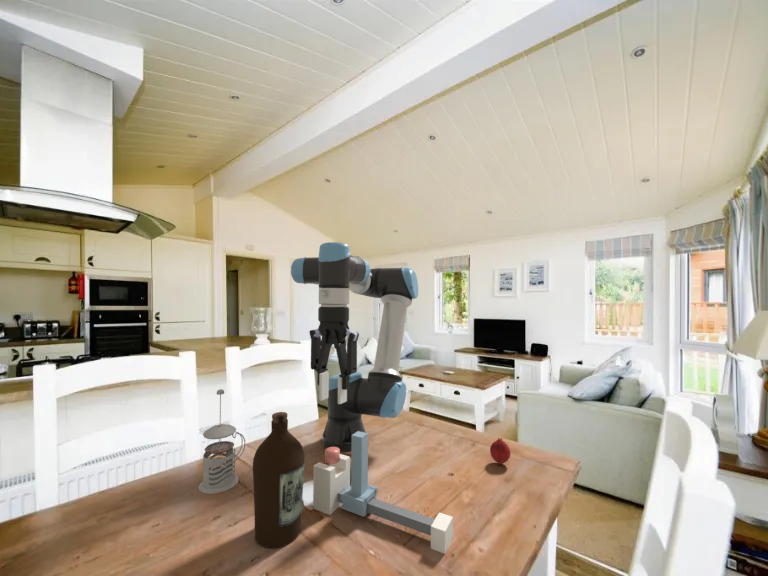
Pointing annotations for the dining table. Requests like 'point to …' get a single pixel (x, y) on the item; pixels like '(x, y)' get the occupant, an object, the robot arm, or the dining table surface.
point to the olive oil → (278, 485)
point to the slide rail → (376, 504)
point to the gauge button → (332, 455)
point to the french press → (219, 476)
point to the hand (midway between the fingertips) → (332, 400)
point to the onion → (500, 451)
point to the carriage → (358, 477)
